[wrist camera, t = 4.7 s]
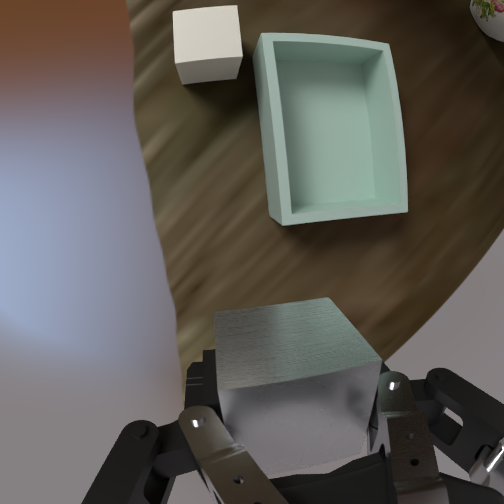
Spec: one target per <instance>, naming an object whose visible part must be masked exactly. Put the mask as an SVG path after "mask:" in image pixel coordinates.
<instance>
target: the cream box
mask: <svg viewBox="0 0 504 504" xmlns="http://www.w3.org/2000/svg"><path fill="white" fill-rule="evenodd" d="M173 30H174V52H175V64H176V67H177V71H178V74H179V77H180V80H181V82H182V85H184V84H191V83H199V82H208V81H217V80H228V79H236V78H237V75H238V71H239V68H240V64H241V61H242V57H243V54H242V45H241V37H240V28H239V19H238V11H237V5H235V6H218V7H206V8H197V9H188V10H181V11H174V12H173Z"/></svg>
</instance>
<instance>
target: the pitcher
mask: <svg viewBox="0 0 504 504" xmlns="http://www.w3.org/2000/svg"><path fill="white" fill-rule="evenodd" d="M470 10H471V13H472V16H473V18H474V20H475V21H476V23H477V24H478V26H479V27H480V28H481V30H482V31H483V32H484V33H485V34H486V35H488V36H489V37H492V38H494V39H496V40H499V41H502V42H504V0H471V3H470Z"/></svg>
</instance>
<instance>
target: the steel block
mask: <svg viewBox="0 0 504 504" xmlns="http://www.w3.org/2000/svg"><path fill="white" fill-rule="evenodd" d="M214 330H215V353H216V372H217V390H218V395H219V401H220V406H221V411H222V416H223V421H224V426H225V428H226V429H227V431H228V432H229V434H230V435H231V437H232V438H233V440H234V441H235V443H236V444H237V445H238V446H239V445H242V446H243V447H244V448H245V449H246V450H247V451H248V453H249V454H250V455H251V457H252V458H253V459H254V461H255V462H256V463H257V465H258V466H259V467H260V469H261V470H262V471H263V473H264V474H265V475H269V474H275V473H280V472H286V471H292V470H296V469H301V468H306V467H311V466H315V465H319V464H323V463H327V462H331V461H335V460H339V459H342V458H346V457H349V456H353V455H356V454H359V453H360V452H361V448H362V445H363V441H364V438H365V434H366V431H367V427H368V423H369V419H370V415H371V411H372V407H373V403H374V398H375V394H376V389H377V385H378V380H379V375H380V370H381V364H382V359H381V358H380V357H379V355H378V354H377V353H376V352H375V351H374V350H373V348H372V347H371V346H370V345H369V344H368V343H367V341H366V340H365V339H364V338H363V337H362V336H361V334H360V333H359V332H358V331H357V330H356V329H355V327H354V326H353V325H352V324H351V323H350V322H349V320H348V319H347V318H346V317H345V316H344V315H343V313H342V312H341V311H340V310H339V309H338V308H337V307H336V305H335V304H334V303H333V302H332V301H331V300H330V299H329V297H327V298H321V299H314V300H307V301H300V302H293V303H286V304H278V305H271V306H263V307H255V308H246V309H238V310H229V311H219V312H214Z"/></svg>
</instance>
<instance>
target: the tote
mask: <svg viewBox="0 0 504 504" xmlns="http://www.w3.org/2000/svg"><path fill="white" fill-rule="evenodd" d="M252 59H253V67H254V75H255V84H256V93H257V101H258V110H259V119H260V129H261V138H262V147H263V157H264V167H265V177H266V187H267V197H268V207H269V216H270V217H272V218H273V219H274V220H276V221H277V222H278V223H280V224H281V225H282V226H284V225H292V224H301V223H309V222H318V221H327V220H336V219H345V218H354V217H364V216H373V215H383V214H393V213H403V212H408V195H407V171H406V156H405V144H404V133H403V124H402V116H401V108H400V101H399V95H398V88H397V82H396V77H395V71H394V66H393V61H392V56H391V51H390V47H389V44H386V43H380V42H374V41H368V40H362V39H355V38H347V37H338V36H328V35H315V34H297V33H261V35H260V38H259V40H258V43H257V45H256V48H255V50H254V53H253V56H252Z"/></svg>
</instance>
